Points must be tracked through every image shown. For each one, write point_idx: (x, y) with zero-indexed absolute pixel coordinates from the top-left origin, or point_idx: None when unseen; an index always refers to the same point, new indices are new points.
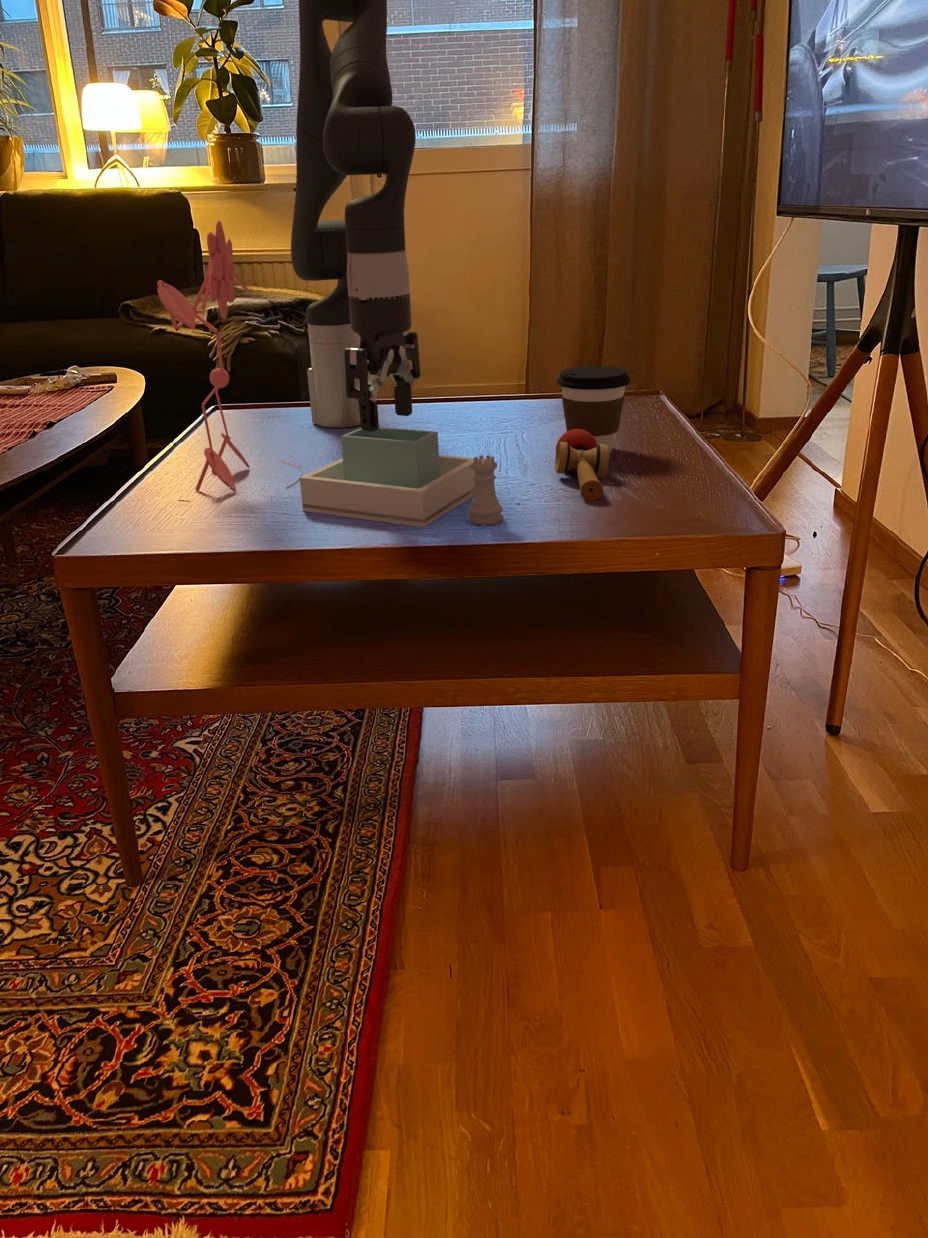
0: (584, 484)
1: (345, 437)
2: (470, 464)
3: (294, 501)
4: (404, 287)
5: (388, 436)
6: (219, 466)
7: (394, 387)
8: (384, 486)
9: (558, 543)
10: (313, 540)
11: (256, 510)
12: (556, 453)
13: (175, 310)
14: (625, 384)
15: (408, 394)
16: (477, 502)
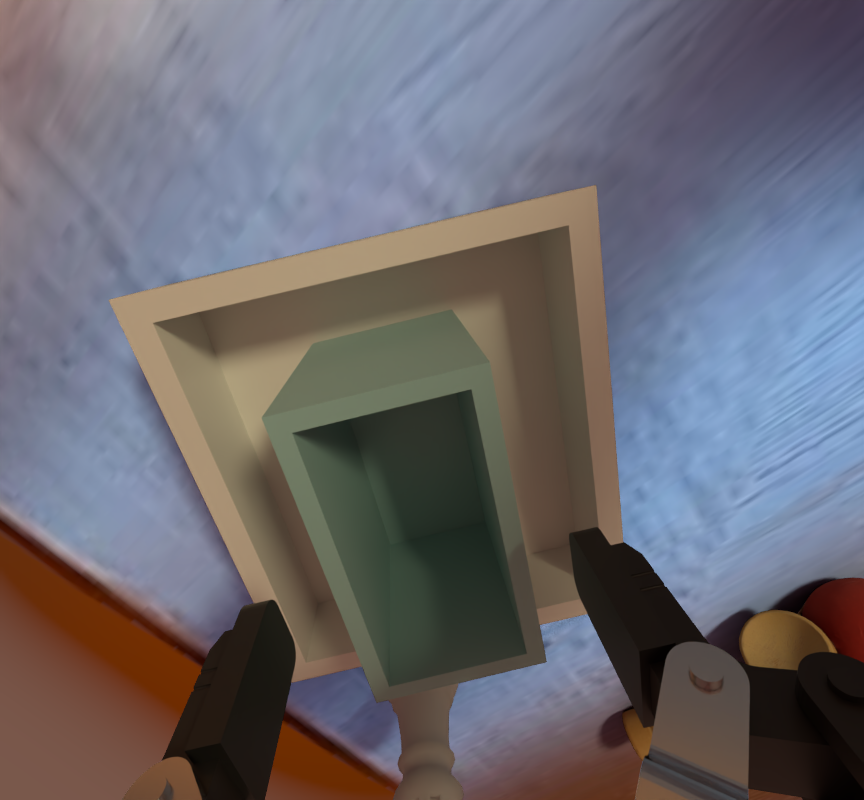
0: (634, 747)
1: (272, 438)
2: (569, 616)
3: (212, 169)
4: None
5: (486, 476)
6: None
7: (636, 651)
8: (258, 590)
9: (395, 789)
10: (59, 490)
11: (51, 127)
12: (815, 631)
13: None
14: None
15: (624, 685)
16: (396, 707)
